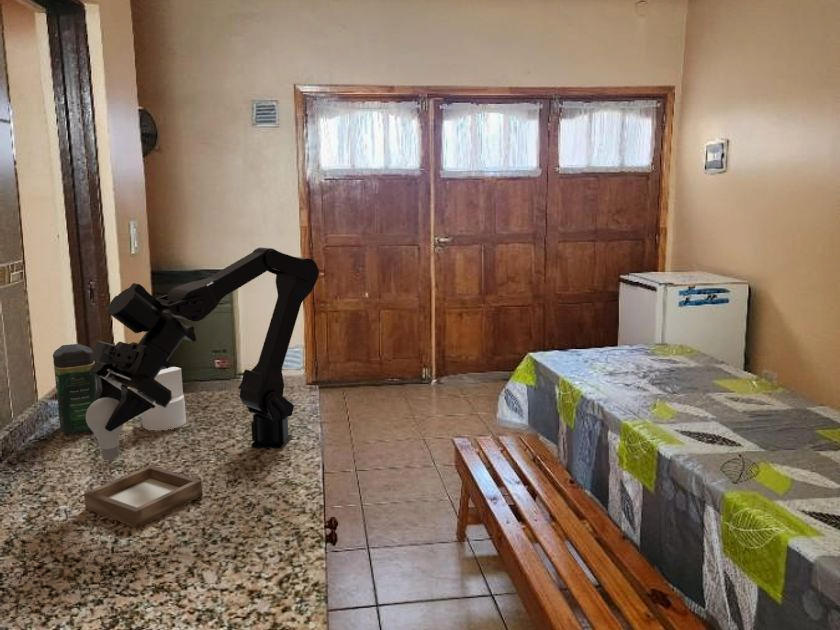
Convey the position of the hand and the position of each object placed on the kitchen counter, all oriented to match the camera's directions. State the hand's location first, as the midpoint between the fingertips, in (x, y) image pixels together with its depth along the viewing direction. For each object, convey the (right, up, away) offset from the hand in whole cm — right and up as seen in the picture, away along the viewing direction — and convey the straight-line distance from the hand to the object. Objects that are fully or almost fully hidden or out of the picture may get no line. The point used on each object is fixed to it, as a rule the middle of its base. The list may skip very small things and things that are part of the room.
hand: (98, 425), depth 113 cm
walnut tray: (+7, -13, +1) cm, 15 cm away
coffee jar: (-21, -7, +37) cm, 43 cm away
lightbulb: (+1, -6, +2) cm, 7 cm away
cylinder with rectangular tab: (-4, -6, +39) cm, 40 cm away
